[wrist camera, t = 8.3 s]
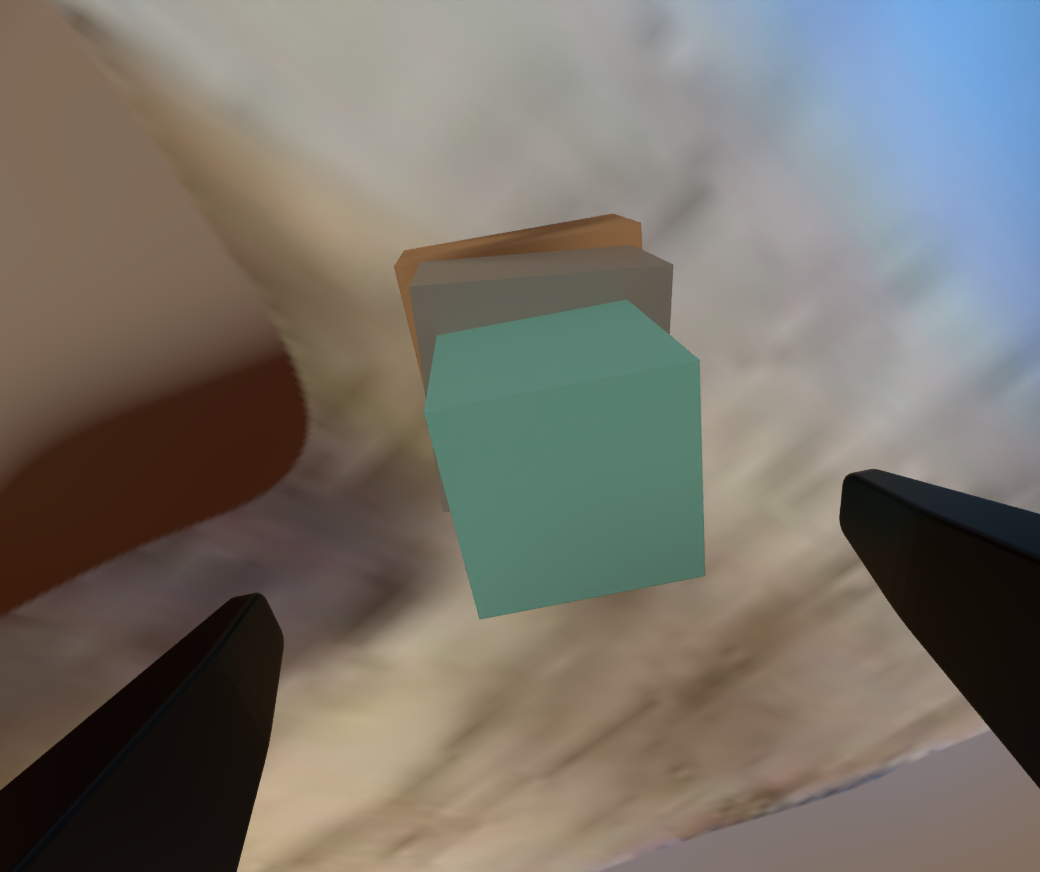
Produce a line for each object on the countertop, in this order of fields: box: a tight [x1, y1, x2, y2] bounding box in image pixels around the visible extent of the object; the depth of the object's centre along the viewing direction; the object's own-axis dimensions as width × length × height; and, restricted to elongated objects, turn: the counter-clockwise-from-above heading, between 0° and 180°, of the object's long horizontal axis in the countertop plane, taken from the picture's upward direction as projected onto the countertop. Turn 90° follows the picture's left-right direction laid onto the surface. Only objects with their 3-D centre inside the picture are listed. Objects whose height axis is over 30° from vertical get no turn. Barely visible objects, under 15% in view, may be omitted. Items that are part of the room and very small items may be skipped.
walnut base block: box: [394, 214, 642, 385], centre depth 19 cm, size 7×7×4 cm
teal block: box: [424, 300, 705, 619], centre depth 12 cm, size 4×4×4 cm
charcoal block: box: [409, 245, 673, 512], centre depth 16 cm, size 6×6×4 cm
